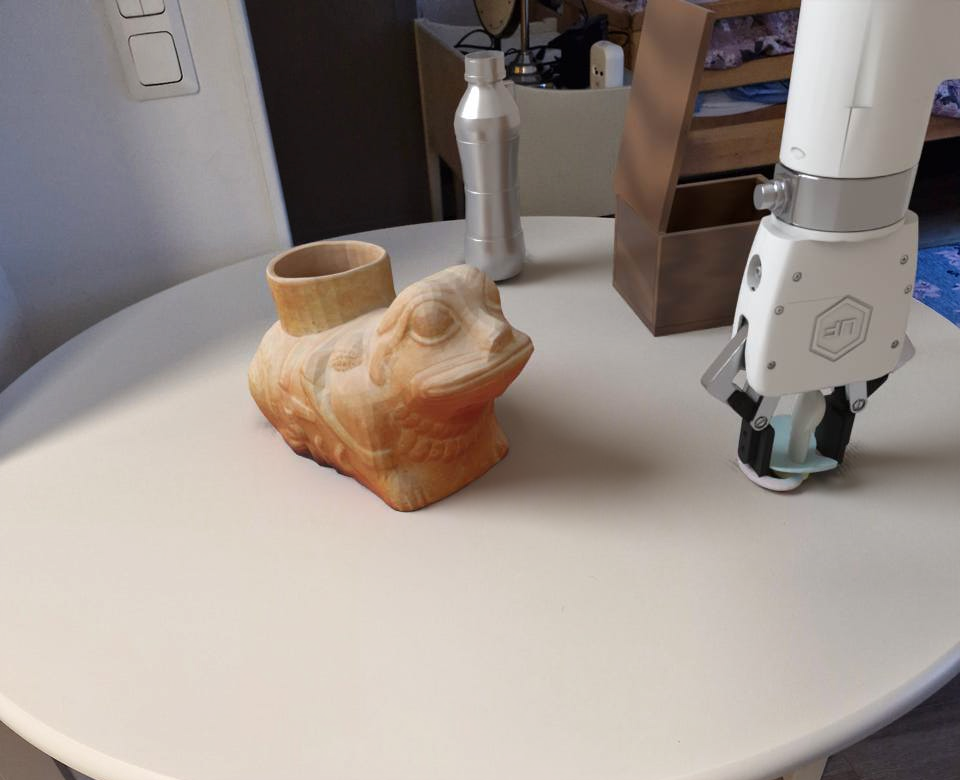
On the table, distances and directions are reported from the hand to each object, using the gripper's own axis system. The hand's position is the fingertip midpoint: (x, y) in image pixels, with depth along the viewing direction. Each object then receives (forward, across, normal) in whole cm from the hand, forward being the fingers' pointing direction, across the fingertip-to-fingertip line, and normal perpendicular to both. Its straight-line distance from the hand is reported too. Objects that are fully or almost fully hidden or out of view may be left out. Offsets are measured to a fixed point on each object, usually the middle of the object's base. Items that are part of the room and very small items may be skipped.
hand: (790, 459), depth 64 cm
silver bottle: (+1, -12, +43) cm, 45 cm away
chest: (+1, +6, +30) cm, 31 cm away
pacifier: (+1, -1, 0) cm, 1 cm away
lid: (-16, 0, +30) cm, 34 cm away
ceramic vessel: (+1, -28, +12) cm, 30 cm away
